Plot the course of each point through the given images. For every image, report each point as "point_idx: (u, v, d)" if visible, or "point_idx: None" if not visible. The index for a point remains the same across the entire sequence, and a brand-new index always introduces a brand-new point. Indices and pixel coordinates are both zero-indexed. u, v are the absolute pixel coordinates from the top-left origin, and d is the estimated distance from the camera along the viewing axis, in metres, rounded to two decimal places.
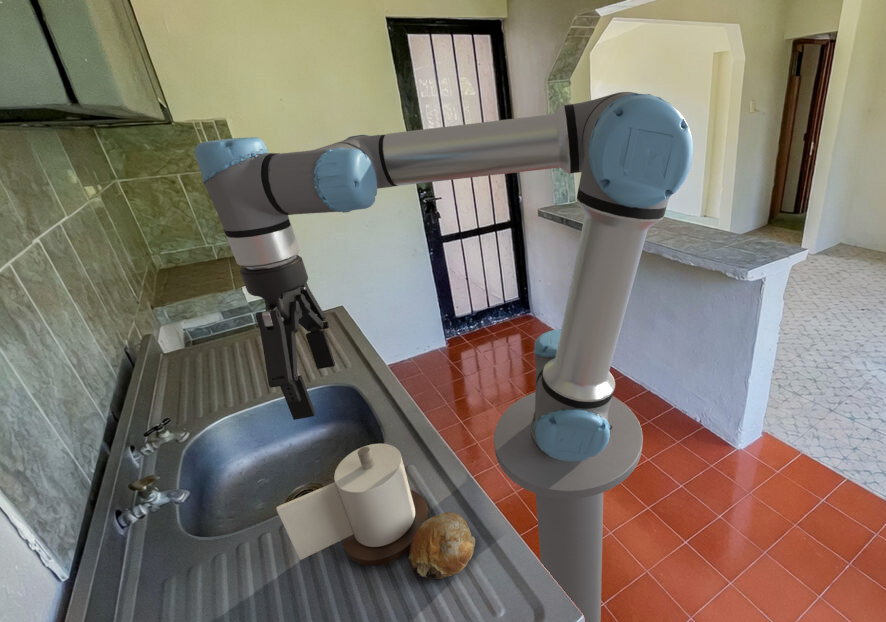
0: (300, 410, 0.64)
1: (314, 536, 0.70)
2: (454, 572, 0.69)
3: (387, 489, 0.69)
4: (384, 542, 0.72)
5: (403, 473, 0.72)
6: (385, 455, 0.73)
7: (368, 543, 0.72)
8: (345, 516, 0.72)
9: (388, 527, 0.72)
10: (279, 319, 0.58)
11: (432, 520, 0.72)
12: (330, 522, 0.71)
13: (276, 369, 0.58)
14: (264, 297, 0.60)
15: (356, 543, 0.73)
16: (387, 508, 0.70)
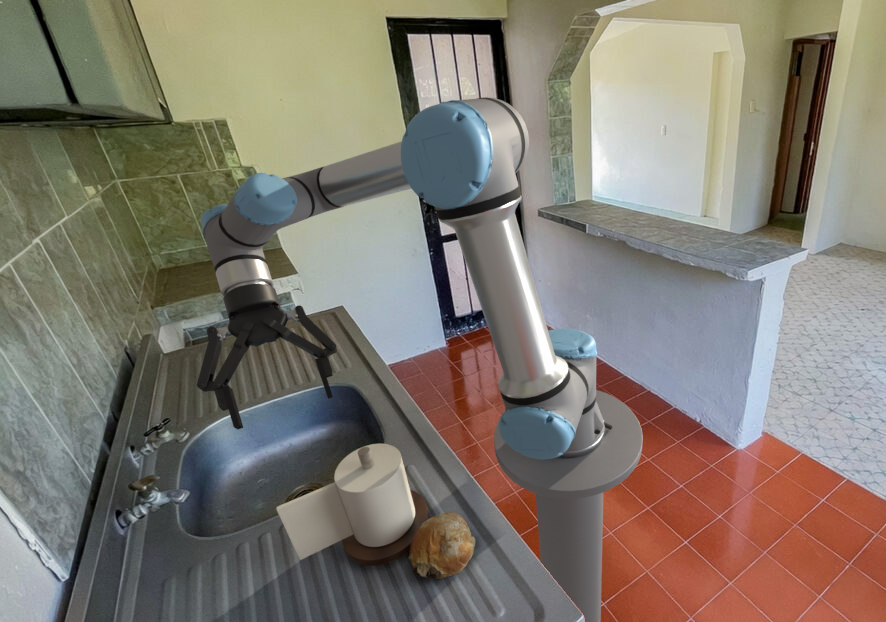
0: None
1: (314, 536, 0.70)
2: (454, 572, 0.69)
3: (387, 489, 0.69)
4: (384, 542, 0.72)
5: (403, 473, 0.72)
6: (385, 455, 0.73)
7: (368, 543, 0.72)
8: (345, 516, 0.72)
9: (388, 527, 0.72)
10: (211, 334, 0.71)
11: (432, 520, 0.72)
12: (330, 522, 0.71)
13: None
14: None
15: (356, 543, 0.73)
16: (387, 508, 0.70)
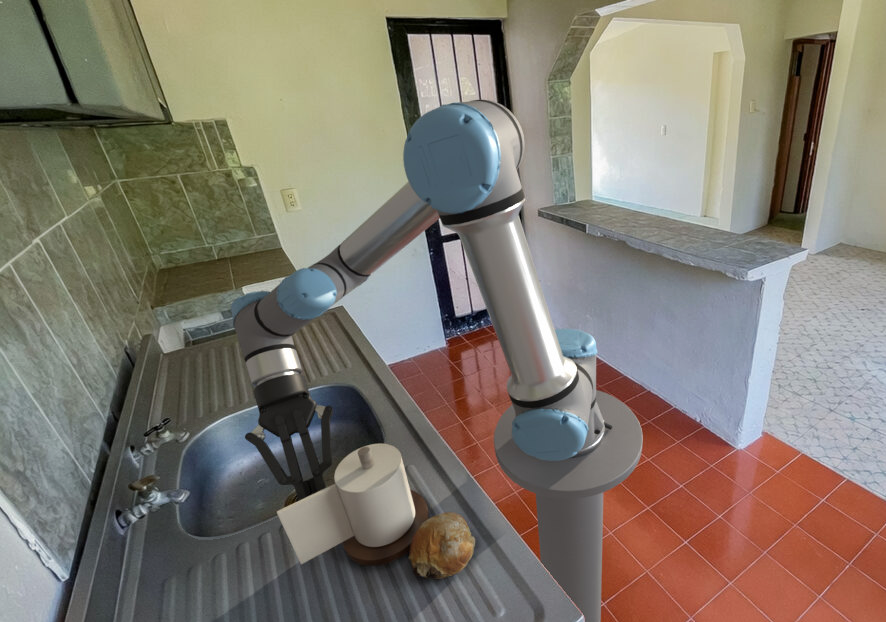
0: None
1: (315, 539, 0.70)
2: (454, 572, 0.69)
3: (389, 488, 0.69)
4: (386, 541, 0.72)
5: (403, 472, 0.73)
6: (385, 455, 0.73)
7: (370, 543, 0.72)
8: (346, 517, 0.72)
9: (390, 526, 0.72)
10: (252, 439, 0.70)
11: (432, 520, 0.72)
12: (331, 524, 0.70)
13: None
14: None
15: (356, 543, 0.73)
16: (389, 507, 0.70)
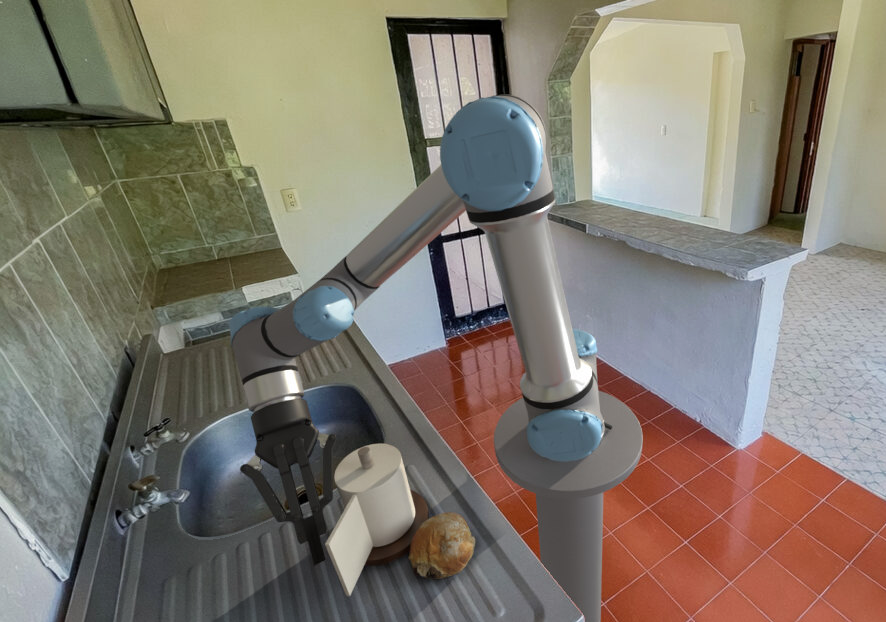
0: None
1: (354, 561, 0.66)
2: (454, 572, 0.69)
3: (403, 467, 0.73)
4: (409, 524, 0.75)
5: None
6: (372, 452, 0.74)
7: (397, 535, 0.73)
8: (366, 527, 0.70)
9: (409, 506, 0.75)
10: (248, 472, 0.64)
11: (432, 520, 0.72)
12: (360, 540, 0.68)
13: None
14: None
15: None
16: (406, 486, 0.74)
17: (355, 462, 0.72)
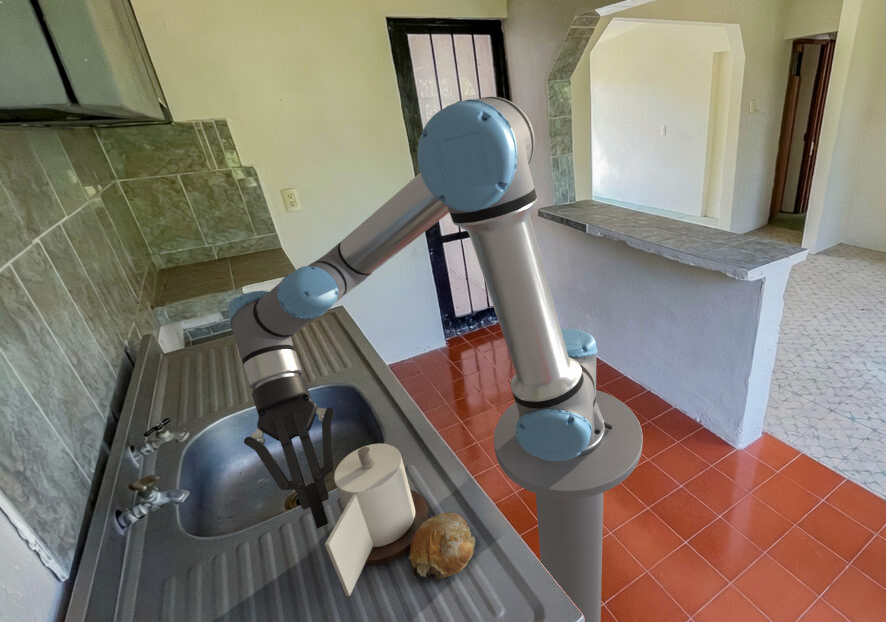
0: None
1: (353, 561, 0.66)
2: (454, 572, 0.69)
3: (403, 467, 0.73)
4: (409, 524, 0.75)
5: None
6: (372, 452, 0.74)
7: (397, 535, 0.73)
8: (366, 527, 0.70)
9: (409, 506, 0.75)
10: (251, 444, 0.68)
11: (432, 520, 0.72)
12: (359, 539, 0.68)
13: None
14: None
15: None
16: (406, 486, 0.74)
17: (355, 462, 0.72)
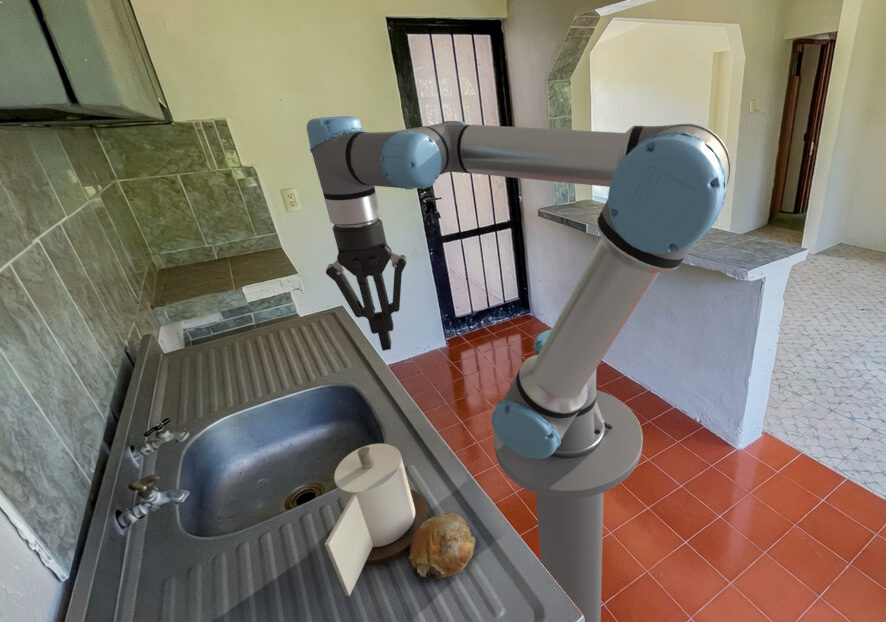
0: None
1: (353, 561, 0.66)
2: (454, 572, 0.69)
3: (403, 467, 0.73)
4: (409, 524, 0.75)
5: None
6: (372, 452, 0.74)
7: (397, 535, 0.73)
8: (366, 527, 0.70)
9: (409, 506, 0.75)
10: (332, 275, 0.74)
11: (432, 520, 0.72)
12: (359, 539, 0.68)
13: None
14: None
15: None
16: (406, 487, 0.74)
17: (355, 462, 0.72)
